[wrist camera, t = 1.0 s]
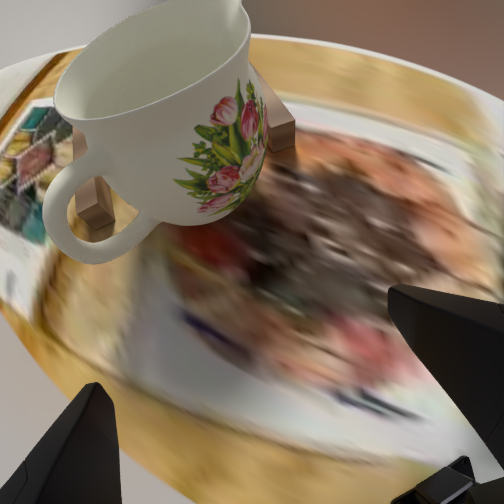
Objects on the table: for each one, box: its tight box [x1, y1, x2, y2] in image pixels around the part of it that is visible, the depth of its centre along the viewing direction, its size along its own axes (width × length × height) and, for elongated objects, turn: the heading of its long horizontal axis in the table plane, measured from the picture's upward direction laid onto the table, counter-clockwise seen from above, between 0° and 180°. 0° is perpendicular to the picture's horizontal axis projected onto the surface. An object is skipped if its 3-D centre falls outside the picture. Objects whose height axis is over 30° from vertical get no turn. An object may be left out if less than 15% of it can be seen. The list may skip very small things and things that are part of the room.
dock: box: [73, 62, 295, 230], centre depth 25 cm, size 17×18×4 cm
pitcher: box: [43, 0, 268, 264], centre depth 18 cm, size 11×18×14 cm, turn 146°
